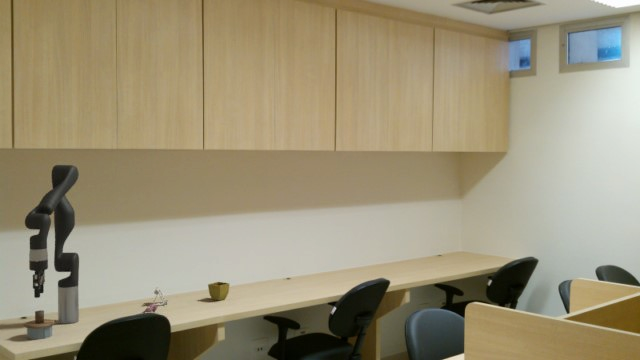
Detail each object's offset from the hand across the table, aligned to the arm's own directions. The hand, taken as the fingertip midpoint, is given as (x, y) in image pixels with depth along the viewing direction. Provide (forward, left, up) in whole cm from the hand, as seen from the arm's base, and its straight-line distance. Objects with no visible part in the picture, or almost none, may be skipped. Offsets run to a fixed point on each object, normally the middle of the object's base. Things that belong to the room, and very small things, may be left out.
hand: (39, 295), depth 289 cm
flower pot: (-76, +68, -18) cm, 104 cm away
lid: (0, 0, -13) cm, 13 cm away
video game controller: (-38, +39, -18) cm, 57 cm away
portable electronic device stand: (-65, +38, -18) cm, 78 cm away
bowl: (0, 0, -18) cm, 18 cm away
